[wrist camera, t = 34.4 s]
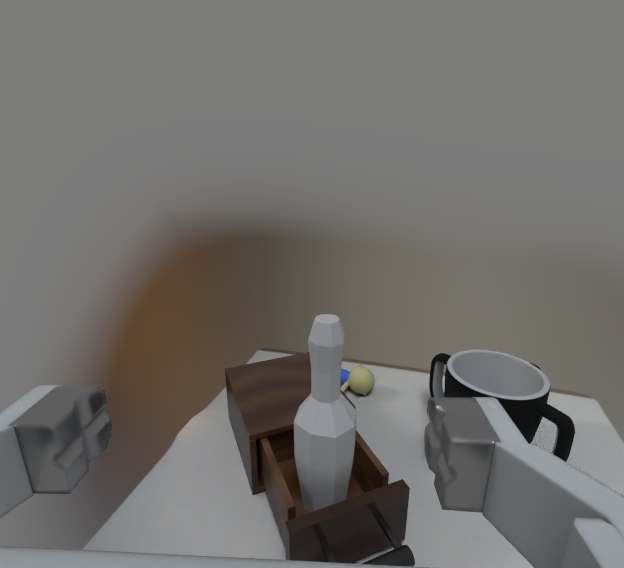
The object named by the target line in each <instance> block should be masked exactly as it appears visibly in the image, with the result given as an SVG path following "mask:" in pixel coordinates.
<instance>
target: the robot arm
mask: <svg viewBox="0 0 624 568" xmlns="http://www.w3.org/2000/svg"><path fill="white" fill-rule="evenodd" d="M106 403H107V399H106V395H105V391H104V390H102V389H101V388H100V387H82V386H60V385H41V386H36V387H35V388H33V389H32V390H31V391H30V392H28V393H27V394H26V395H24V396H23V397H22V398H20V399H19V400H18V401H16V402H15V403H14V404H12V405H11V406H10V407H8V408H7V409H6V410H4V411H3V412H2V413H0V518H1V517H3V516H4V515H5V514H7V513H8V512H10V511H11V510H13V509H14V508H16V507H17V506H19V505H20V504H21V503H23V502H24V501H26V500H27V499H29V498H30V497H32V496H33V495H34V494H33V493H51V494H52V493H53V494H54V493H55V494H70V493H72V491H73V490H74V489H75V487H76V486H77V485H78V483H79V482H80V481H81V480H82V479H83V477H84V476H85V475H86V474H87V472H88V471H89V469H88V463H89V462H91V461H93V460H95V459H96V458H98V457H100V456H101V454H102V453H103V452H104V450H105V449H106V448H107V446H108V443H109V440H110V437H111V431H112V424H111V418H110V416H108V414H107V413H106V412H105V411H104V410H103V408H104V407H105V405H106ZM427 413H428V416H429V419H430V421H431V422H430V423H429V424H428V425H427V426H426V427H425V437H424V442H425V454H426V459H427V463H428V466H429V469H430V470H431V471H433V472H434V473H435V481H434V485H435V488H436V492H437V495H438V498H439V501H440V504H441V507H442V510H455V511H469V512H483V515H484V517H485V518H486V519H487V520H488V521H489V522H490V523H491V524H492V525H493V526H494V527H495V528H496V529H497V530H498V531H499V532H500V533H501V534H502V535H503V536H504V537H505V538H506V539H507V540H508V541H509V542H510V543H511V544H512V545H513V546H514V547H515V548H516V549H517V550H518V551H519V552H520V553H521V554H522V555H523V556H524V557H525V558H526V559H527V560H528V562H529V563H530V564H531V565H532V566H533V567H534V568H624V496H623V495H621V494H619V493H618V492H616V491H614V490H613V489H611V488H609V487H608V486H606V485H604V484H602V483H601V482H599V481H597V480H596V479H594V478H592V477H591V476H589V475H587V474H586V473H584V472H582V471H580V470H579V469H577V468H575V467H574V466H572V465H570V464H569V463H567V462H565V461H563V460H562V459H560V458H558V457H557V456H555V455H553V454H552V453H550V452H548V451H547V450H545V449H543V448H541V447H540V446H538V445H536V444H528V442H527V441H526V439H525V438H524V437H523V435H522V434H521V432H520V431H519V430H518V428H517V427H516V425H515V424H514V422H513V421H512V420H511V418H510V417H509V415H508V414H507V413H506V411H505V410H504V408H503V407H502V405H501V404H500V403H499V401H498V400H497V399H496V398H494V397H472V398H456V397H430V399H429V402H428V408H427ZM0 568H429V567H407V566H387V565H368V564H349V563H330V562H311V561H292V560H273V559H254V558H233V557H213V556H192V555H172V554H151V553H131V552H111V551H90V550H70V549H50V548H30V547H9V546H0Z"/></svg>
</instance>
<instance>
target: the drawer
mask: <svg viewBox="0 0 624 568" xmlns="http://www.w3.org/2000/svg"><path fill="white" fill-rule="evenodd" d="M256 442H257V460H258V471H259V473H260V476H261V479H262V482H263V485H264V488H265V491H266V493H267V496H268V499H269V502H270V505H271V508H272V511H273V513H274V516H275V519H276V522H277V525H278V528H279V531H280V533H281V536H282V539H283V542H284V545H285V548H286V560H292V561H311V562H330V563H351V562H354V561H356V560H358V559H361V558H363V557H365V556H368V555H370V554H372V553H375V552H377V551H379V550H382V549H384V548H386V547H389V546H391V545H392V546H393V548H394V550H392V551H390V552H388V553H385V554H383V555H381V556H378V557H376V558H374V559H372V560H369V561H367V562H365V563H362V564H368V565H387V566H407V567H413V566H414V565H415V559H414V556H413V553H412V551H411V550H410V548H409V547H408V546H407V545H404V546H402V545H401V543H400V541H403V540H404V539H405V529H406V519H407V509H408V500H409V490H410V488H409V487H408V485H407V484H406V483H405V482H404V480H403V479H402V480H399V481H396V482H394V483H391V484H388V479H389V473H388V471H387V470H386V469H385V467H384V466H383V465H382V464H381V462H380V461H379V460H378V458H377V457H376V456H375V454H374V453H373V452H372V450H371V449H370V448H369V447H368V445H367V444H366V443H365V441H364V440H363V439H362V437H361V436H360V435H359V433H358V432H357V431H356V437H355V449H354V457H353V464H352V469H351V475H350V480H349V485H348V491H347V496H346V500H344V501H341V502H338V503H335V504H333V505H330V506H327V507H324V508H321V509H319V510H316V511H313V512H310V513H309V512H308V511H307V510H306V509H305V508H304V507H303V502H302V496H301V490H300V484H299V479H298V473H297V467H296V462H295V456H294V429H292V430H289V431H285V432H281V433H278V434H274V435H270V436H267V437H263V438H259V439H256Z"/></svg>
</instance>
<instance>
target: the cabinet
mask: <svg viewBox="0 0 624 568" xmlns="http://www.w3.org/2000/svg"><path fill="white" fill-rule="evenodd" d="M225 374H226V388H227V400H228V412H229V419H230V422H231V425H232V429H233V432H234V435H235V438H236V442H237V445H238V448H239V451H240V455H241V458H242V461H243V465H244V468H245V471H246V474H247V478H248V481H249V484H250V487H251V491H252V494H253V495H254V494H257V493H260V492H263V491H265V488H264V485H263V482H262V479H261V476H260V473H259V471H258V460H257V442H256V439H259V438H263V437H267V436H270V435H274V434H278V433H281V432H285V431H289V430H292V429H294V419H295V417H296V414H297V411H298V409H299V406H300V405H301V404H302V403H303V402H304V401H305V399H306V398H307V397H308V396H309V395H310V394H311V362H310V353H309V352H307V353H302V354H297V355H292V356H287V357H282V358H277V359H272V360H267V361H261V362H256V363H251V364H246V365H242V366H236V367H231V368H226V369H225ZM341 394H342V395H343V396H344V397H345V398H346V399H347V400H348V402H349V403H350V404H351V405H352V406H353V407H354V408H355V409H356V407H355V406H354V405H353V403H352V402H351V401H350V400H349V399H348V397H347V396H346V395H345V394H344V393H343V391H342V390H341Z"/></svg>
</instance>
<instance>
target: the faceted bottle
mask: <svg viewBox="0 0 624 568" xmlns="http://www.w3.org/2000/svg"><path fill="white" fill-rule="evenodd" d="M344 339H345V335H344V332H343V328H342V325H341V322H340V318H339V317H337V316H335V315H331V314H322V315H319V316H316V318H315V320H314V324H313V326H312V330H311V333H310V337H309V340H308V343H309V353H310V362H311V394H310V395H309V396H308V397H307V398H306V399H305V401H304V402H303V403H302V404H301V405H300V406H299V409H298V411H297V414H296V417H295V419H294V456H295V462H296V467H297V473H298V479H299V484H300V490H301V496H302V502H303V507H304V508H305V509H306V510H307V511H308V512H309V513H310V512H313V511H316V510H319V509H321V508H324V507H327V506H330V505H333V504H335V503H338V502H341V501H344V500H346V496H347V491H348V485H349V480H350V475H351V469H352V464H353V457H354V449H355V437H356V413H357V411H356V409H355V408H354V407H353V406H352V405H351V404H350V403H349V402H348V400H347V399H346V398H345V397H344V396H343V395H342V394H341V363H342V355H343V347H344Z"/></svg>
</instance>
